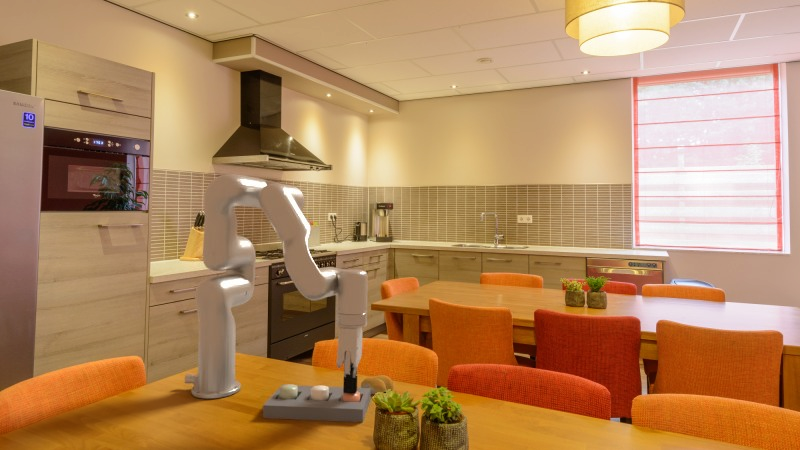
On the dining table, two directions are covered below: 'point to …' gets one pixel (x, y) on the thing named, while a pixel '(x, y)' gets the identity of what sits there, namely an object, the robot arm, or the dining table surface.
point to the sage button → (288, 391)
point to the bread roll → (377, 383)
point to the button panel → (318, 406)
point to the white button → (320, 393)
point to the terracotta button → (351, 397)
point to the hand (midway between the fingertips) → (350, 392)
